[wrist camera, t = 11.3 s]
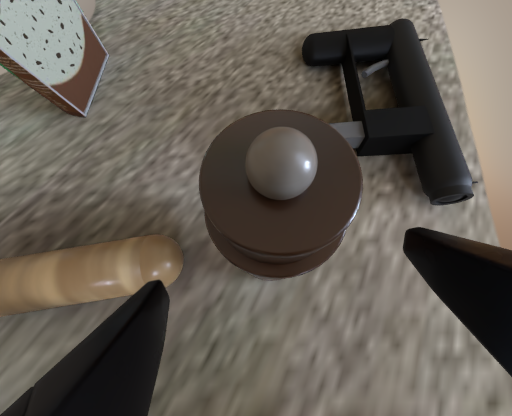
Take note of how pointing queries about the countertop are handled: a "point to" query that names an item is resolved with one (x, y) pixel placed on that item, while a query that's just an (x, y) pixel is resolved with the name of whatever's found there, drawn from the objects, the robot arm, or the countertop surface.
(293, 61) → the countertop surface
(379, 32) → the door handle
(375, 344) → the countertop surface
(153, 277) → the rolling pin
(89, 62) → the food container
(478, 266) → the robot arm
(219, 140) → the pepper mill
